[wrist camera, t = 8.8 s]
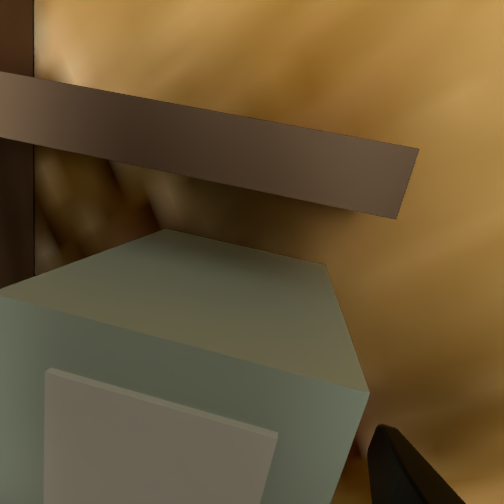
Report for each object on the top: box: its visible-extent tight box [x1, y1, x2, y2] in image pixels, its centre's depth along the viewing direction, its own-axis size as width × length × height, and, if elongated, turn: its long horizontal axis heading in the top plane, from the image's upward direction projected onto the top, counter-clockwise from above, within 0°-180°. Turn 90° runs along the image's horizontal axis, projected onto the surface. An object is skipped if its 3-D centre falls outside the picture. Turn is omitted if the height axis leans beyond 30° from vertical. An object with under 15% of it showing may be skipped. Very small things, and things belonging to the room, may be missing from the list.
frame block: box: [0, 229, 370, 504], centre depth 7 cm, size 5×7×6 cm
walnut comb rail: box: [0, 0, 419, 289], centre depth 7 cm, size 11×26×3 cm, turn 169°
